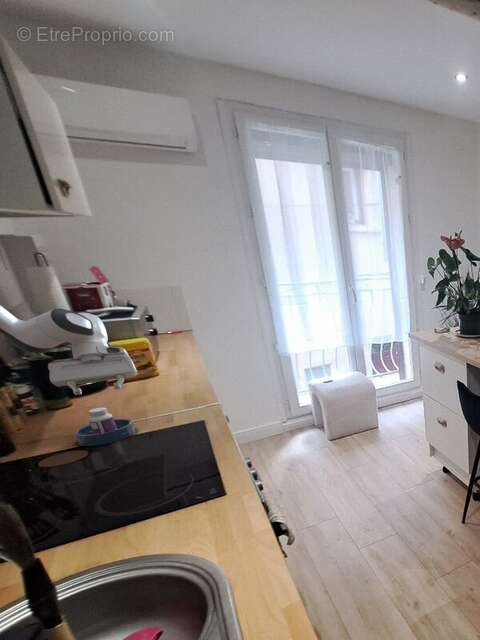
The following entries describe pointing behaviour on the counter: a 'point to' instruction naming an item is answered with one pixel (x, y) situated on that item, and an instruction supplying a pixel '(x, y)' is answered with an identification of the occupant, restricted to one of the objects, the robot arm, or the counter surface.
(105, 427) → the pill bottle
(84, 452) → the coaster
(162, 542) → the counter surface
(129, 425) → the bowl
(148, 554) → the counter surface
